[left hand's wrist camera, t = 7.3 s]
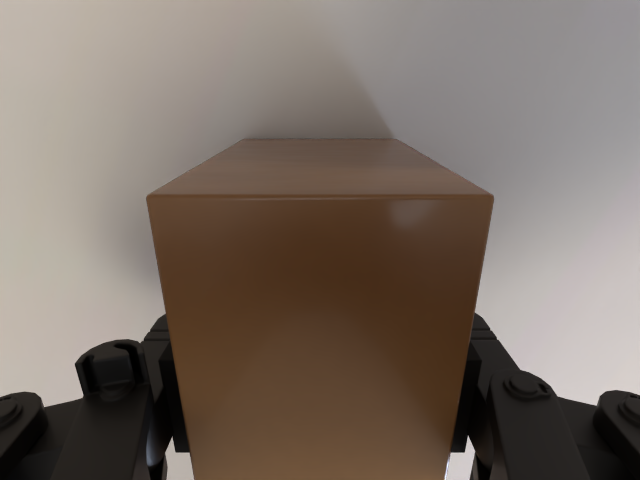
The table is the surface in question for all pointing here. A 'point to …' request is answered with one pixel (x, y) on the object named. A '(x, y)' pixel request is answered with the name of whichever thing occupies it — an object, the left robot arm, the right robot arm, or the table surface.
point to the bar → (320, 307)
